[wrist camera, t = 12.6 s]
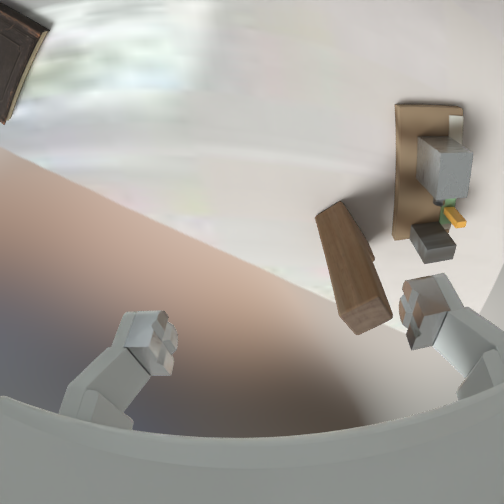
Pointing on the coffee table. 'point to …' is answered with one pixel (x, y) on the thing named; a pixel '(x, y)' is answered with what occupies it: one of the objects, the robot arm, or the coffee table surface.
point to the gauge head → (443, 167)
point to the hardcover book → (16, 55)
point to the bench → (412, 191)
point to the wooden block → (352, 271)
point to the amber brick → (454, 217)
